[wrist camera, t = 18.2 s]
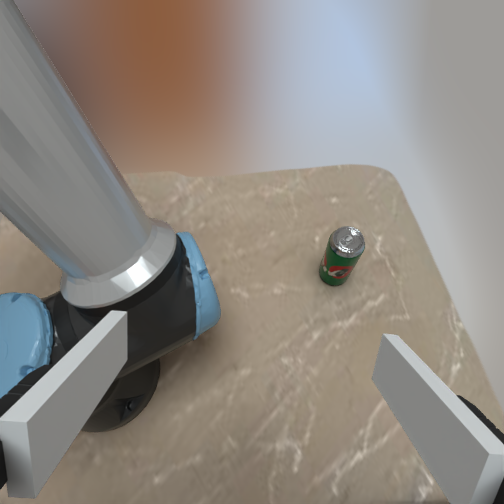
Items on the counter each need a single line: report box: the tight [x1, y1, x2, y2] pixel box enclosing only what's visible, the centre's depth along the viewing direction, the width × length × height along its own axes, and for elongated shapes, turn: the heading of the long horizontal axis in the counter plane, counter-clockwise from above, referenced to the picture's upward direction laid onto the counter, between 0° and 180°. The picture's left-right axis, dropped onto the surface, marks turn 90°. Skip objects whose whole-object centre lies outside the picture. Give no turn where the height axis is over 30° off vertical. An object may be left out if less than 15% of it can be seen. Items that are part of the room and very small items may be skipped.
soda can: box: [319, 226, 365, 285], centre depth 45 cm, size 5×5×12 cm
